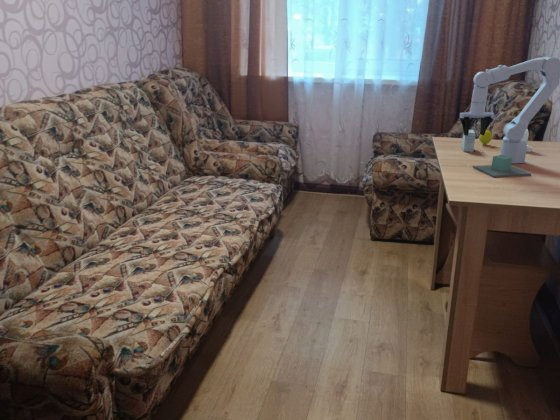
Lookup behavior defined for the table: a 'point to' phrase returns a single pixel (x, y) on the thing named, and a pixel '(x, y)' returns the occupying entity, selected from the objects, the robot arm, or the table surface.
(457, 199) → the table surface
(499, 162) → the cube
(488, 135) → the fruit
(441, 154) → the table surface
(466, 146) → the medicine box
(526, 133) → the cable organizer
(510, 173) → the grey blue flat plate
